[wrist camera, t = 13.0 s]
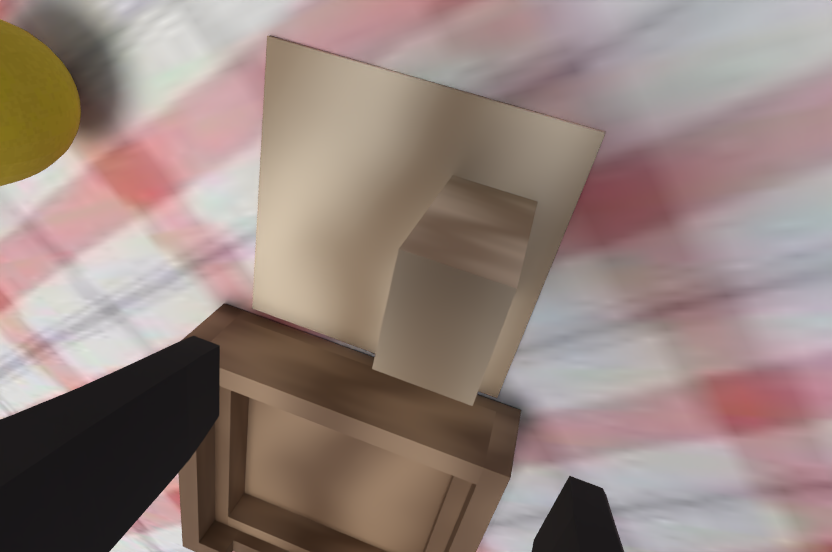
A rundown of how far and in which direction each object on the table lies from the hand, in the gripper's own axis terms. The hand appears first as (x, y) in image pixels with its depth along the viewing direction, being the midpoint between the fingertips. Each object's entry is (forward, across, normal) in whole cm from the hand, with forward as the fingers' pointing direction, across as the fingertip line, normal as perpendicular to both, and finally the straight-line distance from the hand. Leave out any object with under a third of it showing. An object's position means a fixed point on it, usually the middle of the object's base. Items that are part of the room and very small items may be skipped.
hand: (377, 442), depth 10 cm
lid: (+11, +3, +1) cm, 11 cm away
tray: (+10, +3, +16) cm, 19 cm away
